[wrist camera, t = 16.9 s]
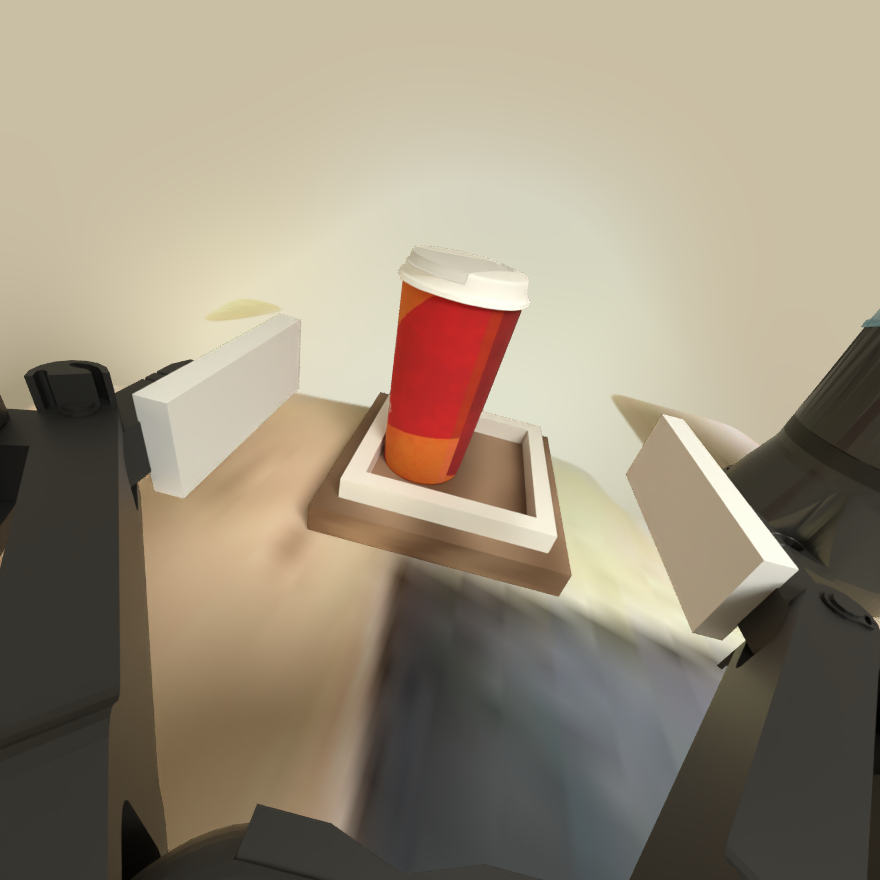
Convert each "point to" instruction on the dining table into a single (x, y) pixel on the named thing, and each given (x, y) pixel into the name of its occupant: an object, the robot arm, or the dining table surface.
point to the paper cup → (446, 356)
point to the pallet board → (454, 504)
